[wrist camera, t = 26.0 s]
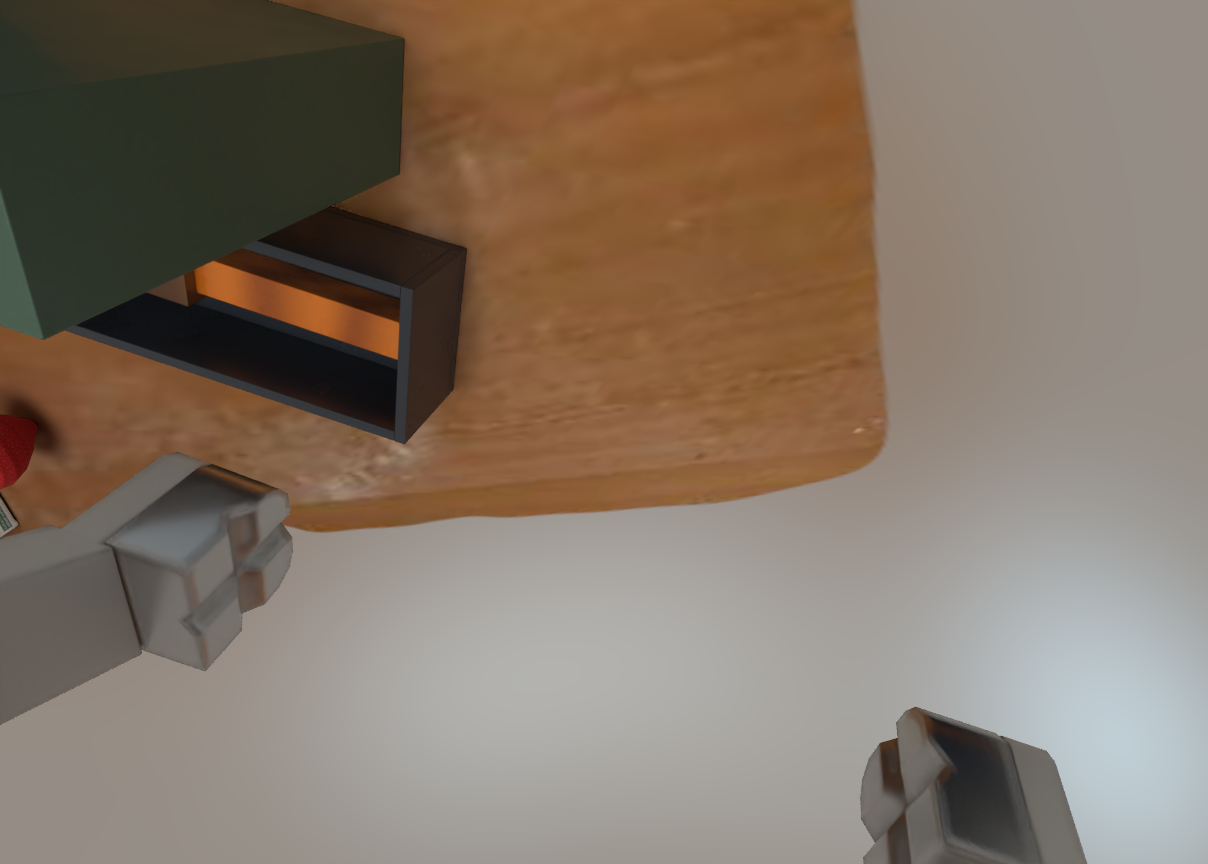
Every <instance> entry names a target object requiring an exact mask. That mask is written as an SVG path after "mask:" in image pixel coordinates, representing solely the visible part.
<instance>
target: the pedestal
mask: <svg viewBox="0 0 1208 864" xmlns="http://www.w3.org/2000/svg"><path fill="white" fill-rule="evenodd" d="M403 55H404V39H403V38H400V37H397V36H393V35H390V34H386V33H382V32H379V31H375V30H372V29H368V28H365V27H361V26H357V25H354V24H350V23H347V22H343V21H340V20H336V19H332V18H329V17H325V16H322V15H318V14H314V13H311V12H307V11H304V10H300V9H297V8H293V7H289V6H286V5H282V4H279V3H275V2H272V1H268V0H0V326H3V327H6V328H9V329H12V330H15V331H18V332H21V333H24V334H27V335H30V336H33V337H36V338H39V339H42V340H44V339H47V338H49V337H51V336H53V335H55V334H58V333H60V332H62V331H64V330H66V329H68V328H70V327H73V326H75V325H77V324H79V323H81V322H83V321H85V320H88V319H90V318H92V317H94V316H96V315H98V314H101V313H103V312H105V311H107V310H109V309H111V308H113V307H116V306H118V305H120V304H122V303H124V302H126V301H128V300H131V299H133V298H135V297H137V296H139V295H141V294H143V293H146V292H148V291H150V290H152V289H154V288H156V287H158V286H161V285H163V284H165V283H167V282H169V281H171V280H173V279H176V278H178V277H180V276H182V275H184V274H186V273H188V272H191V271H193V270H195V269H197V268H199V267H201V266H203V265H206V264H208V263H210V262H212V261H214V260H216V259H218V258H221V257H223V256H225V255H227V254H229V253H231V252H234V251H236V250H238V249H240V248H242V247H244V246H246V245H249V244H251V243H253V242H255V241H257V240H259V239H261V238H264V237H266V236H268V235H270V234H272V233H274V232H276V231H279V230H281V229H283V228H285V227H287V226H289V225H291V224H294V223H296V222H298V221H300V220H302V219H304V218H306V217H309V216H311V215H313V214H315V213H317V212H319V211H321V210H324V209H326V208H328V207H330V206H332V205H334V204H336V203H339V202H341V201H343V200H345V199H347V198H349V197H352V196H354V195H356V194H358V193H360V192H362V191H364V190H367V189H369V188H371V187H373V186H375V185H377V184H379V183H382V182H384V181H386V180H388V179H390V178H392V177H394V176H397V175H399V164H400V137H401V109H402V82H403Z"/></svg>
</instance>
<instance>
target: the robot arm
mask: <svg viewBox="0 0 1208 864" xmlns="http://www.w3.org/2000/svg"><path fill="white" fill-rule="evenodd" d="M289 513H290V506H289V498H288V493H286V492H284V491H282V490H280V489H278V488H275V487H272V486H270V485H267V484H264V483H262V482H259V481H256V480H254V479H251V478H248V477H246V476H243V475H240V474H237V473H235V472H232V471H229V470H227V469H224V468H221V467H219V466H216V465H213V464H210V463H207V462H204V461H201V460H199V459H196V458H193V457H190V456H188V455H185V454H182V453H179V452H175V453H171V454H166V455H163V456H161V457H160V458H158V459H157V460H155V461H154V462H153V463H151V464H150V465H149V466H147V467H146V468H144V469H143V470H142V471H140V472H139V473H137V474H136V475H135V476H133V477H132V478H131V479H129V480H128V481H126V482H125V483H124V484H122V485H121V486H119V487H118V488H117V489H115V490H114V491H113V492H111V493H110V494H108V495H107V496H106V497H104V498H103V499H101V500H100V501H99V502H97V503H96V504H95V505H93V506H92V507H90V508H89V509H88V510H86V511H85V512H83V513H82V514H81V515H79V516H78V517H77V518H75V519H74V520H72V521H71V522H70V523H68V524H67V525H65V526H64V527H63V528H61V529H60V528H57V527H54V526H51V525H48V526H45V527H41V528H37V529H34V530H30V531H26V532H23V533H19V534H15V535H12V536H8V537H4V538H1V539H0V725H1V724H3V723H5V722H6V721H9V720H11V719H13V718H14V717H17V716H19V715H21V714H23V713H24V712H27V711H29V710H31V709H33V708H35V707H37V706H39V705H41V704H43V703H45V702H47V701H49V700H51V699H53V698H55V697H57V696H59V695H61V694H63V693H65V692H67V691H69V690H70V689H73V688H75V687H77V686H79V685H81V684H83V683H85V682H87V681H89V680H91V679H93V678H95V677H97V676H99V675H101V674H103V673H105V672H107V671H109V670H111V669H113V668H115V667H117V666H119V665H121V664H123V663H125V662H127V661H129V660H131V659H133V658H135V657H137V656H139V655H141V653H142V651H141V650H144V651H147V652H150V653H153V654H156V655H159V656H162V657H165V658H167V659H170V660H173V661H176V662H179V663H182V664H185V665H188V666H191V667H194V668H197V669H200V670H203V671H206V670H207V669H208V668H209V667H210V666H211V664H212V663H213V662H214V661H215V660H216V659H217V658H218V656H219V655H220V654H221V653H222V652H223V651H224V650H225V649H226V648H227V646H228V645H229V644H230V643H231V642H232V641H233V640H234V639H235V637H236V636H237V635H238V634H239V633H240V632H241V631H242V613H244V612H247V611H249V610H252V609H254V608H257V607H259V606H262V605H264V604H265V603H266V602H267V601H268V600H269V599H270V597H271V596H272V595H273V594H274V593H275V592H276V590H277V589H278V588H279V586H280V584H281V583H282V580H283V579H284V577H285V574H286V573H287V571H288V569H289V567H290V562H291V558H292V553H293V545H292V537H291V535H290V534H289V532H288V531H287V529H286V528H285V527H284V525H283V524H282V521H283V520H284V519H285V518H286V517H287V516H288V515H289ZM896 726H897V736H898V738H896V739H892V740H889V741H886V742H882V743H880V744H879V745H878V747H877V748H876V749H875V751H874V752H873V754H872V755H871V757H870V758H869V760H868V763H867V766H866V769H865V773H864V776H863V779H862V787H861V797H860V799H861V800H860V801H861V820H862V821H863V823H864V825H865V826H866V828H867V830H868V832H869V833H870V835H871V837H872V838H873V840H874V842H875V844H874V845H873V846H872V848H871V849H870V850H869V851H868V852H867V854H866V855H865V856H864V857H863V860H864V864H1087V862H1086V859H1085V855H1084V852H1083V849H1082V846H1081V843H1080V839H1079V836H1078V833H1077V830H1076V827H1075V824H1074V820H1073V817H1072V814H1071V811H1070V808H1069V804H1068V801H1067V798H1066V795H1065V792H1064V789H1063V785H1062V782H1061V779H1060V776H1059V773H1058V770H1057V767H1056V764H1055V762H1054V760H1053V759H1052V757H1051V756H1050V755H1049V753H1048V752H1047V751H1045V750H1042V749H1039V748H1036V747H1033V746H1030V745H1027V744H1024V743H1021V742H1018V741H1015V740H1012V739H1010V738H1007V737H1003V736H998V735H997V734H996V733H993V732H990V731H987V730H984V729H981V728H978V727H975V726H972V725H969V724H966V723H963V722H960V721H957V720H954V719H951V718H948V717H945V716H942V715H939V714H936V713H933V712H930V711H927V710H924V709H921V708H917V707H914V708H911V709H909V710H907V711H906V712H905V713H904V714H903V715H902V716H901V717H900V719H899V720H898V721H897V722H896Z"/></svg>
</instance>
